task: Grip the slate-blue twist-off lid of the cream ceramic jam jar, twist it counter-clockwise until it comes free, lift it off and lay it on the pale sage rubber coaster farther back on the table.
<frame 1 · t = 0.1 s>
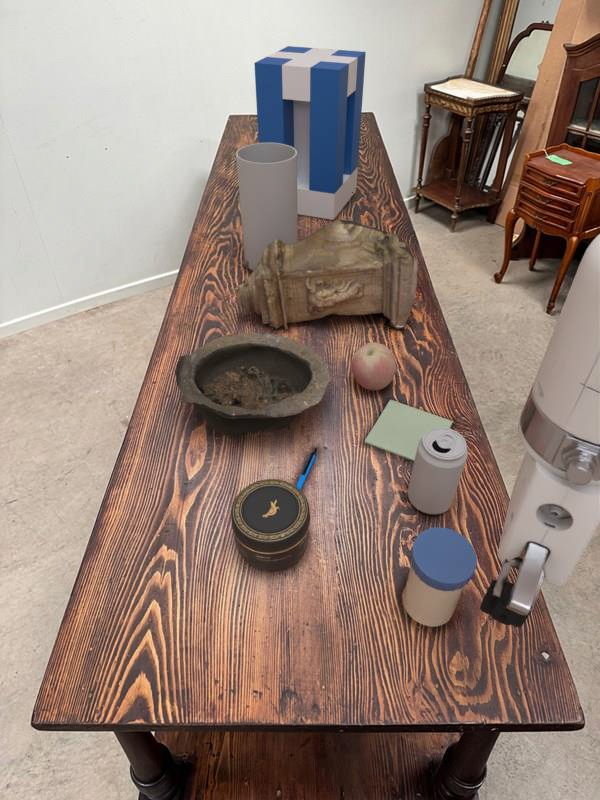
hand: (513, 566, 45), 22 cm above the table, tool pointing down, fingers open, 9 cm apart
stone bowl: (256, 402, 92), on the table
jam jar: (428, 601, 66), on the table
beverage can: (429, 499, 77), on the table
jar lid: (443, 556, 59), point 10 cm above the table, screwed on, not yet turned
pen: (295, 498, 78), on the table, touching jar
cylinder vase: (271, 263, 128), on the table
jar: (273, 543, 72), on the table, touching pen
coaster: (409, 432, 87), on the table
apple: (371, 385, 96), on the table
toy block: (310, 200, 154), on the table
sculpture: (323, 310, 113), on the table
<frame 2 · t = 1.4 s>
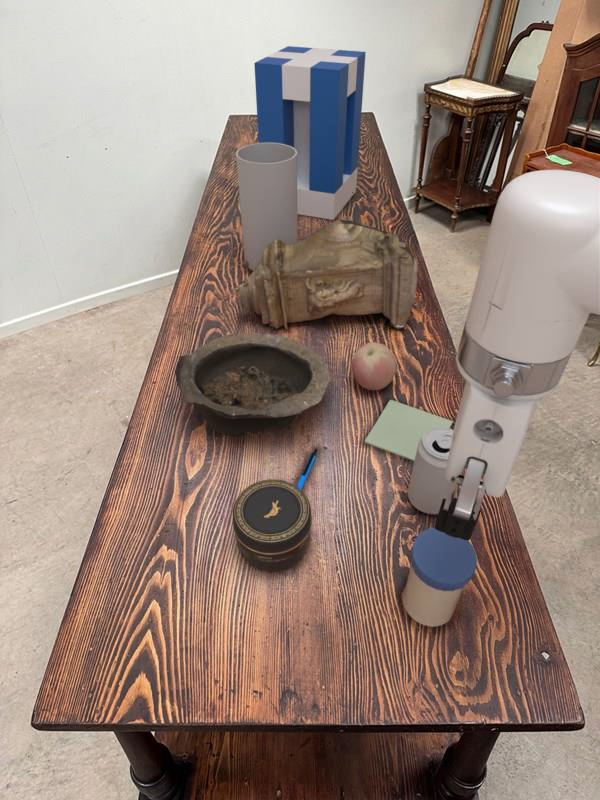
hand: (461, 495, 51), 21 cm above the table, tool pointing down, fingers open, 8 cm apart
pen: (295, 498, 78), on the table
jar: (274, 543, 72), on the table
everything else where it was.
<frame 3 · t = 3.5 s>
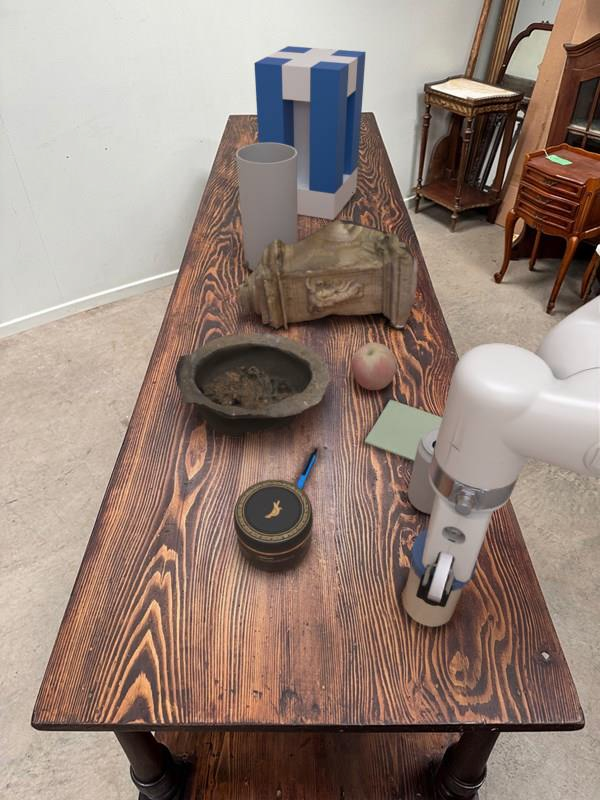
hand: (438, 570, 61), 8 cm above the table, tool pointing down, fingers closed on jar lid, 6 cm apart
jar lid: (443, 556, 59), point 10 cm above the table, screwed on, not yet turned, touching gripper
everything else where it was.
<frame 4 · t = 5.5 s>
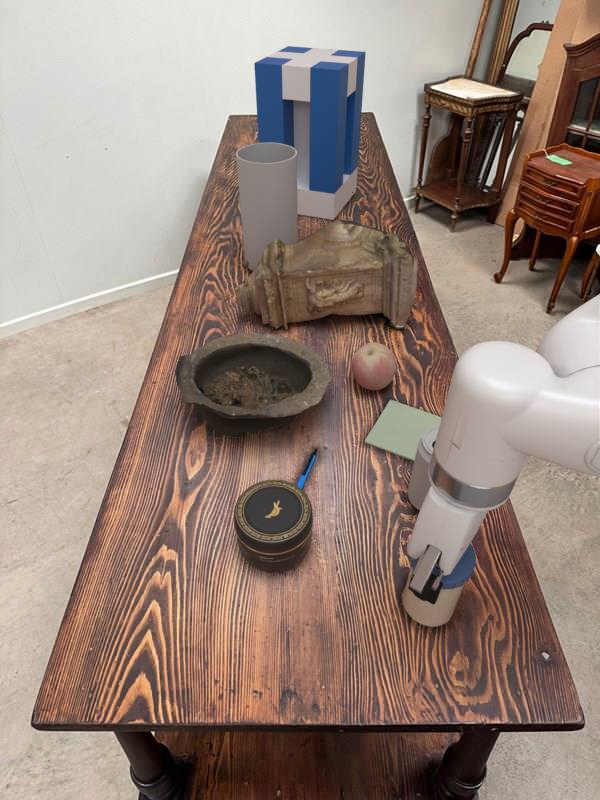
hand: (437, 568, 61), 8 cm above the table, tool pointing down, fingers closed on jar lid, 6 cm apart
jar lid: (442, 554, 59), point 11 cm above the table, off its thread, touching gripper
everything else where it was.
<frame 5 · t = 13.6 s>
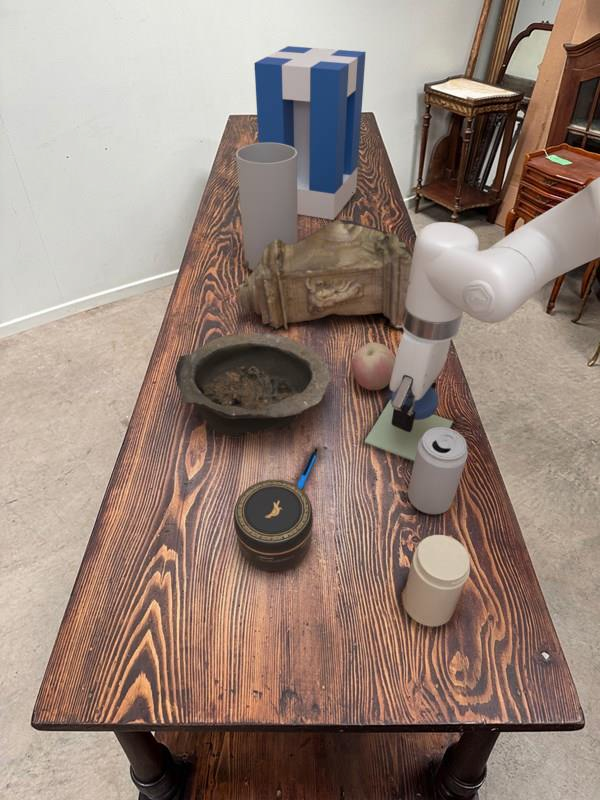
hand: (412, 412, 84), 4 cm above the table, tool pointing down, fingers closed on jar lid, 6 cm apart
jar lid: (415, 397, 82), point 8 cm above the table, off its thread, touching gripper
everything else where it was.
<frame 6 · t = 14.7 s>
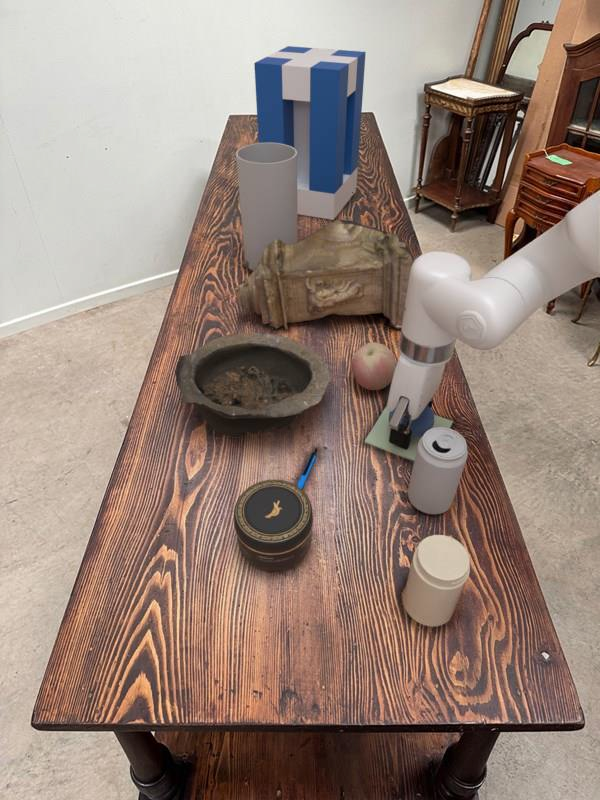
hand: (409, 429, 86), 1 cm above the table, tool pointing down, fingers closed on jar lid, 6 cm apart
jar lid: (411, 416, 84), point 4 cm above the table, off its thread, touching gripper
everything else where it was.
when the fingers open (1 cm above the table, at t = 23.7 s): jar lid drops 3 cm, resting on coaster.
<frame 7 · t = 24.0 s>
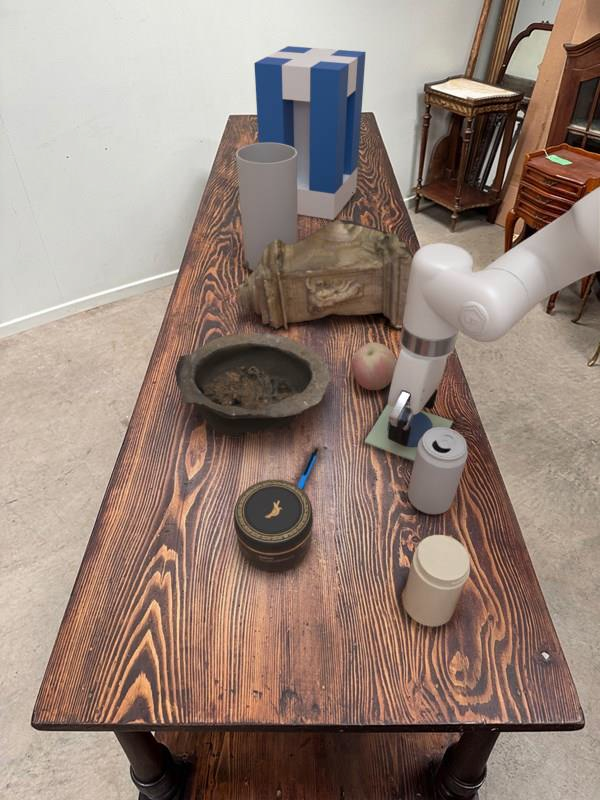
hand: (411, 422, 85), 2 cm above the table, tool pointing down, fingers open, 9 cm apart
jar lid: (410, 425, 86), point 2 cm above the table, off its thread, touching coaster
everything else where it was.
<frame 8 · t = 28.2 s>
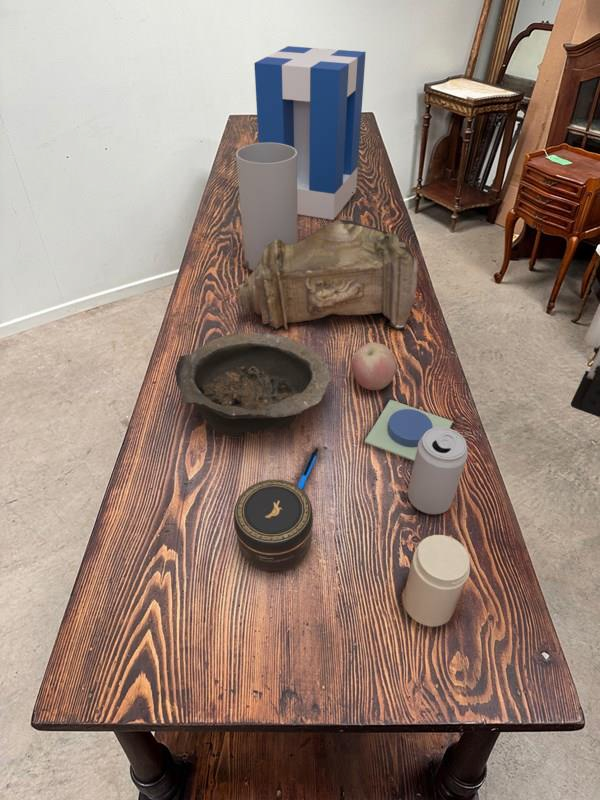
hand: (599, 382, 53), 28 cm above the table, tool pointing down, fingers open, 9 cm apart
nothing on the table moved.
at the end: jar lid came off its thread; jar lid inside the target area on the coaster (0.1 cm from its centre), point 1.7 cm above the coaster's base; the gripper is holding nothing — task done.
